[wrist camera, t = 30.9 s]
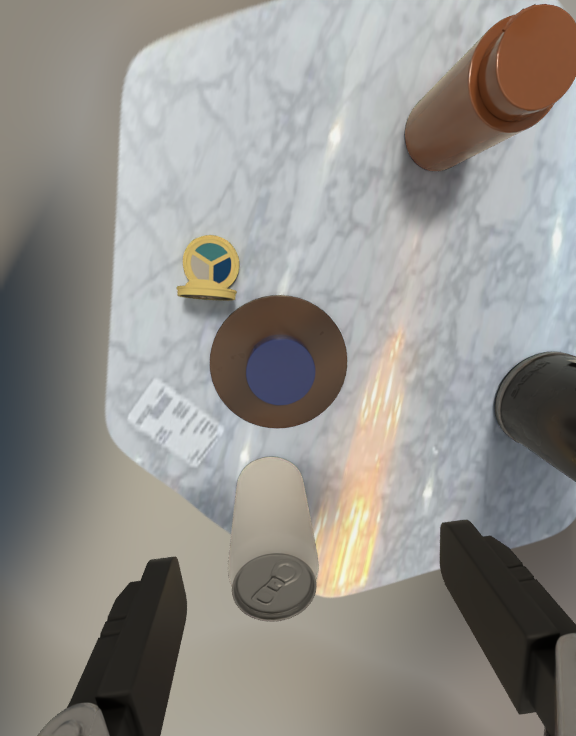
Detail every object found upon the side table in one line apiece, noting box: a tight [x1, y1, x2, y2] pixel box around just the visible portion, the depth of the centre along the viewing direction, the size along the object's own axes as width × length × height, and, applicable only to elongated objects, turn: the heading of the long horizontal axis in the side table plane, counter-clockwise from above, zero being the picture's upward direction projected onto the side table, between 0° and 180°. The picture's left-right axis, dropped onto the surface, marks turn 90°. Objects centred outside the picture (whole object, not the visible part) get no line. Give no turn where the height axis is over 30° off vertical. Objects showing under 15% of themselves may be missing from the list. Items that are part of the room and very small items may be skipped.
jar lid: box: [246, 335, 315, 405], centre depth 31 cm, size 6×6×2 cm
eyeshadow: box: [177, 235, 239, 300], centre depth 27 cm, size 4×5×5 cm
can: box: [228, 457, 319, 621], centre depth 30 cm, size 6×6×12 cm
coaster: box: [210, 295, 347, 428], centre depth 32 cm, size 12×12×1 cm
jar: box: [405, 4, 576, 171], centre depth 23 cm, size 5×5×11 cm
